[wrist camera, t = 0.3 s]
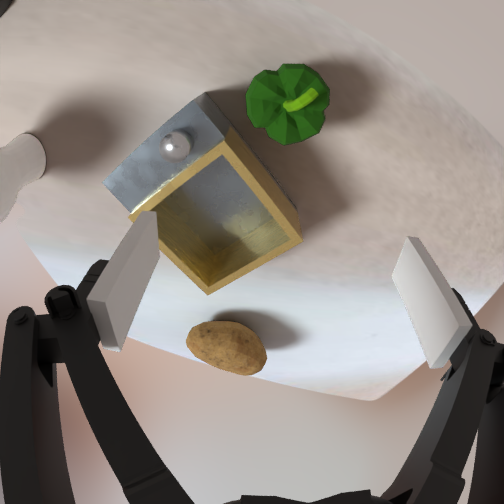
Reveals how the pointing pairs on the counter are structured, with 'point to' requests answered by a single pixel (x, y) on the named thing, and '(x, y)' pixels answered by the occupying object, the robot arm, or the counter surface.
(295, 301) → the counter surface
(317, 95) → the bell pepper
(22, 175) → the cup
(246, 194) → the gold open box
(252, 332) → the potato
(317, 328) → the counter surface
